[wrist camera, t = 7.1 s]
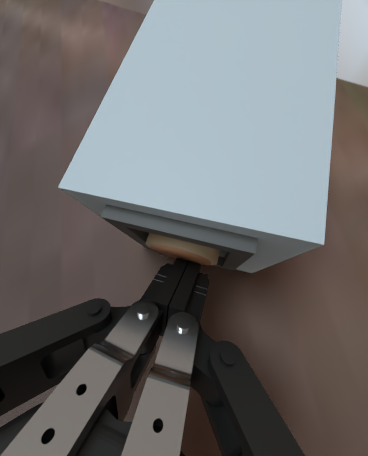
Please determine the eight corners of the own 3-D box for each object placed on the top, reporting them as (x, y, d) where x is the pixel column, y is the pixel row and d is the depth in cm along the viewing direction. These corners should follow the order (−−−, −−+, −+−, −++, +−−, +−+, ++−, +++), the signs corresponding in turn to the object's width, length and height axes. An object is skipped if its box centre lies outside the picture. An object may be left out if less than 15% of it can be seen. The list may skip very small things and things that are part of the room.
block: (250, 280, 16) (322, 263, 6) (139, 250, 18) (51, 200, 8) (275, 138, 20) (343, -17, 10) (182, 127, 22) (159, -11, 12)
